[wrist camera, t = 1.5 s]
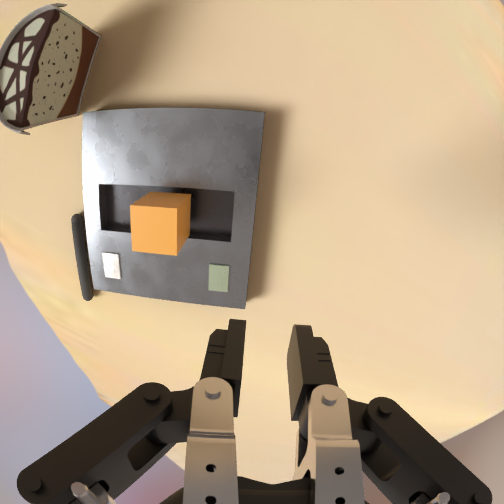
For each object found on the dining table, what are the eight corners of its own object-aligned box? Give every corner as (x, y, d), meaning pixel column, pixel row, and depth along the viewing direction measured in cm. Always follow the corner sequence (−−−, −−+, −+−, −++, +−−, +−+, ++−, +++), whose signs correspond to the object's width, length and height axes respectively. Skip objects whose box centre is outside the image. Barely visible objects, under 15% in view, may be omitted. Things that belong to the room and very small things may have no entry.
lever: (156, 188, 29) (130, 205, 23) (194, 190, 29) (177, 208, 23) (156, 226, 31) (132, 251, 25) (193, 229, 31) (176, 255, 25)
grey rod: (74, 211, 31) (68, 215, 30) (84, 212, 31) (78, 216, 30) (86, 296, 35) (81, 302, 34) (95, 298, 35) (90, 303, 34)
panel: (92, 112, 26) (82, 112, 24) (264, 113, 27) (264, 112, 25) (100, 281, 34) (93, 289, 32) (246, 299, 35) (245, 310, 33)
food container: (65, 24, 22) (10, 6, 13) (106, 23, 22) (54, -2, 13) (37, 122, 27) (-22, 130, 17) (75, 128, 27) (15, 137, 18)
